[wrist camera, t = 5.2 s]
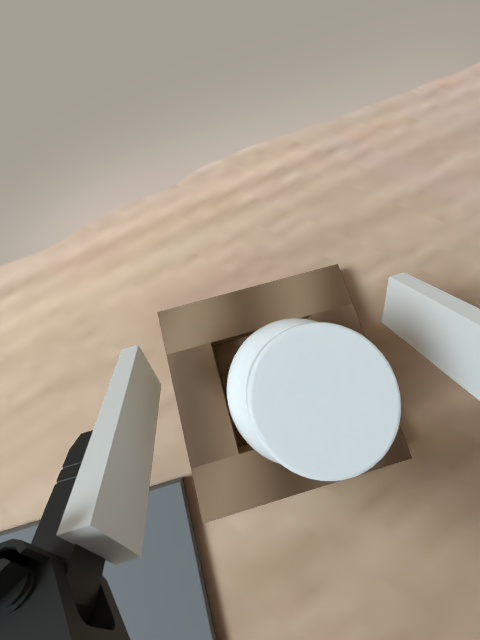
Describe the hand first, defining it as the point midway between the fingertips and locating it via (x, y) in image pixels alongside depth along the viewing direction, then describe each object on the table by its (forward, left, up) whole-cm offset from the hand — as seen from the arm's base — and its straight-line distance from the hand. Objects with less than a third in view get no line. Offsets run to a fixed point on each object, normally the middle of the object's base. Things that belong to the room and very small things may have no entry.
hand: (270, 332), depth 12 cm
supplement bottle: (0, +3, -5) cm, 5 cm away
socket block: (0, +3, -4) cm, 5 cm away
